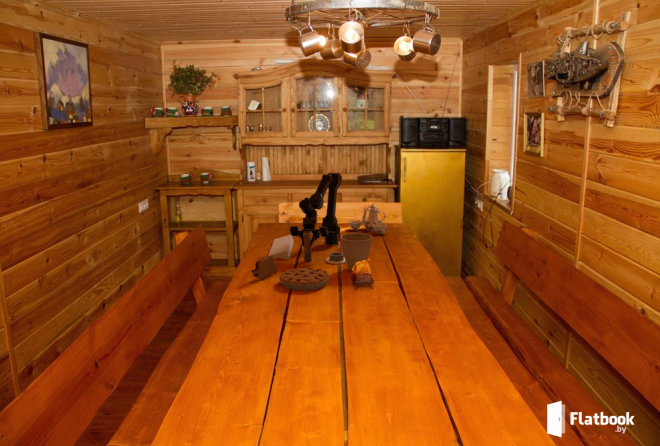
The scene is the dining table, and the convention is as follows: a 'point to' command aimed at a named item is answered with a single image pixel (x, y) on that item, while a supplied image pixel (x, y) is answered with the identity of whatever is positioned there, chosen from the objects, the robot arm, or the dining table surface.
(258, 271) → the wooden carving
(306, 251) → the brown tapered rod
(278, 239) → the decorative molding
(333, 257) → the cup bracket
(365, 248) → the plant pot
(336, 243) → the robot arm
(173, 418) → the dining table surface
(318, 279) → the pie
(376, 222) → the chinaware
